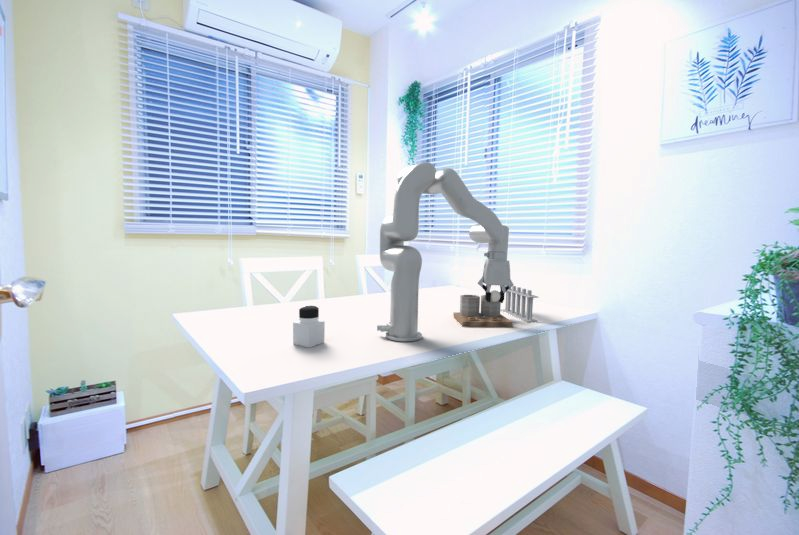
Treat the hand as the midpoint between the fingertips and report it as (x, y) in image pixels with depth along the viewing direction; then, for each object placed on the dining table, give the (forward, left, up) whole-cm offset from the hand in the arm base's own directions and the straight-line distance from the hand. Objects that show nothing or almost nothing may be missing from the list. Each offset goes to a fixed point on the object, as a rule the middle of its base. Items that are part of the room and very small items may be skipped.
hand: (494, 301), depth 150 cm
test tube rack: (+16, +17, -10) cm, 26 cm away
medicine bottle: (-68, -27, -10) cm, 74 cm away
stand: (-3, +6, -10) cm, 12 cm away
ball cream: (0, 0, +2) cm, 2 cm away
